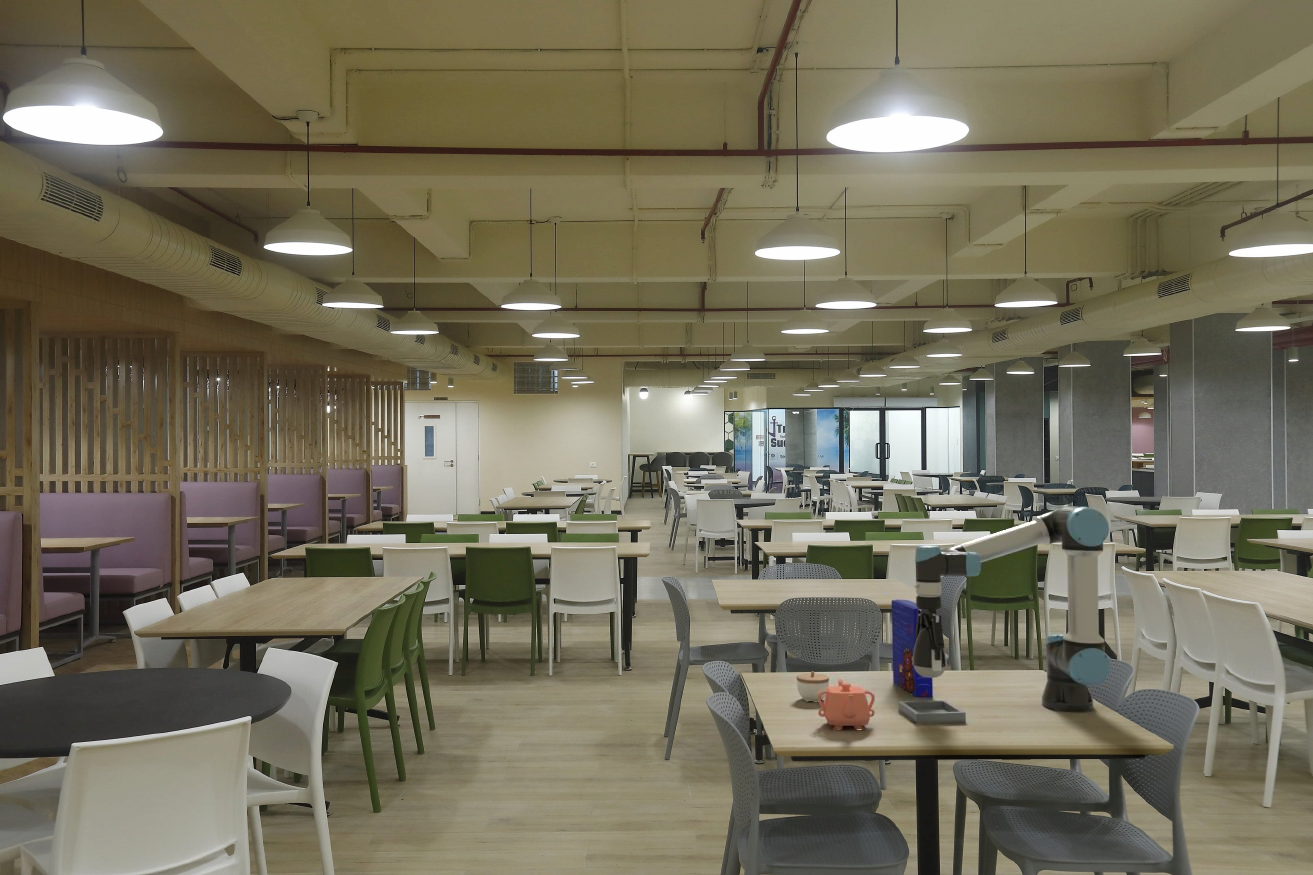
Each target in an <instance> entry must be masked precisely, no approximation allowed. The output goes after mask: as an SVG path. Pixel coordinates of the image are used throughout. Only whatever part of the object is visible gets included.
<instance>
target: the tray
mask: <svg viewBox="0 0 1313 875" xmlns="http://www.w3.org/2000/svg"><path fill="white" fill-rule="evenodd" d="M897 702H898V704H897V705H898V712H900V714H901V715H903V716H905V717H906V718H907V719H909V720H910V721H912V722H913V723H914V724H916V725H928V724H929V725H931V724H933V725H935V724H937V725H938V724H960V723H962V724H963V723H964V724H965V723H966V722H967V720H966V719H967V716H966V714H967V713H966V711H964V710H962V709H961V708H960V707H958V706H955V705H954V704H953V703H951V702H949V701H948V700H946V699H938V700H937V699H936V700H934V699H933V700H907V701H906V700H905V701H903V700H901V701H900V700H899V701H897Z"/></svg>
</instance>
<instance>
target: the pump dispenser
mask: <svg viewBox="0 0 1313 875" xmlns="http://www.w3.org/2000/svg"><path fill="white" fill-rule="evenodd" d="M943 631H944V629H943V628H942V632H943ZM931 647H933V646H932V641H931V637H930V632H929V629H928V628H927V627H925V628H923V629H922V630H921V631H920V633H919V635H918V637H917V640H916V643H915V647H914V651H913V661H912V662H913V665H914V668H915V670H916V672H917V673H918V674H919V675H921V676H923V677H928V678H932V679H933V678H938V677H940V676H942V675H943V674H944V673H945V670H946V667H947V666H948V665H947V664H948V663H947V656H946V651H945V647H944V648H942V649H941V670H942V671H932V650H931Z"/></svg>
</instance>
